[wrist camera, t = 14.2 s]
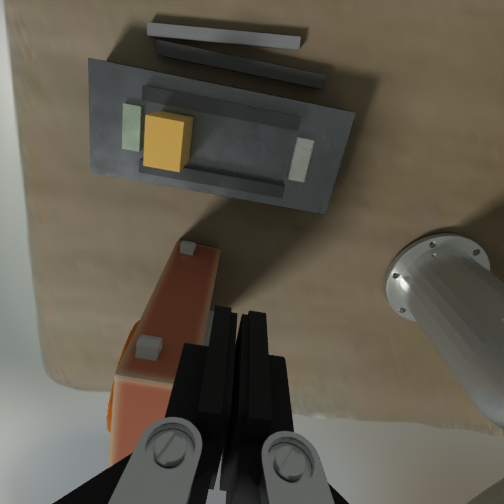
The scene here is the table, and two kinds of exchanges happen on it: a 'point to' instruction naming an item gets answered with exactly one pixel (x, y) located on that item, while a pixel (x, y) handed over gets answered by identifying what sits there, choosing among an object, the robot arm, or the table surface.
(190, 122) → the yellow block
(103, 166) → the slider track
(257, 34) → the grey square bar
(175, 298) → the control panel
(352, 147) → the table surface
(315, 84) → the dark grey long bar
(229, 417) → the robot arm
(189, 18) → the table surface
